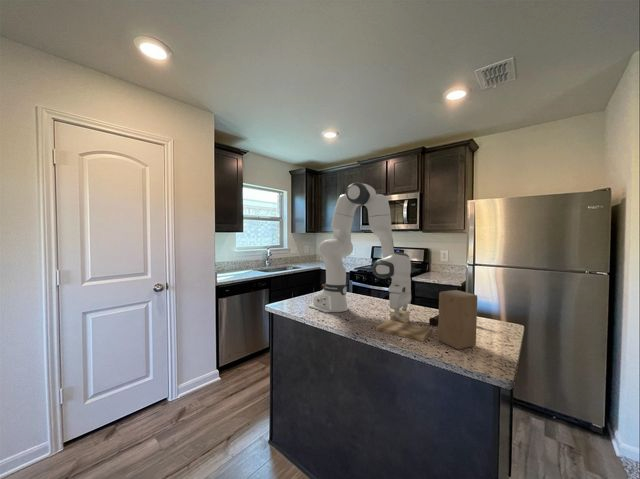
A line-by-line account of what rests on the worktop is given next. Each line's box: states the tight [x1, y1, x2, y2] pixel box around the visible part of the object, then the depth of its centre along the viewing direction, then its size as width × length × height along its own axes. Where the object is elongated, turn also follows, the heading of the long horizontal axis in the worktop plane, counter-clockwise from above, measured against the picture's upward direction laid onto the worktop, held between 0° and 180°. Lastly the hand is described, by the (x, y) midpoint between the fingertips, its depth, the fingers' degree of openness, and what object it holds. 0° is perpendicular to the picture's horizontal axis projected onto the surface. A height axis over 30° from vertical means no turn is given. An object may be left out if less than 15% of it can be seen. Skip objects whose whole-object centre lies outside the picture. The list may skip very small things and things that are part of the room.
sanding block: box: [389, 309, 410, 324], centre depth 133 cm, size 8×4×5 cm, turn 55°
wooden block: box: [437, 289, 478, 350], centre depth 106 cm, size 10×10×20 cm
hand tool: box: [428, 314, 439, 327], centre depth 133 cm, size 19×4×5 cm, turn 134°
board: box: [375, 319, 432, 342], centre depth 119 cm, size 20×13×2 cm, turn 54°
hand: (401, 314), depth 132 cm, fingers open, 8 cm apart
